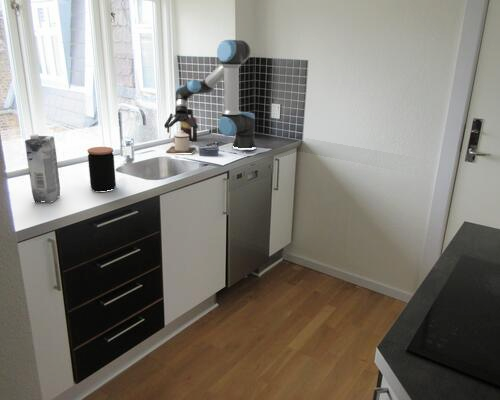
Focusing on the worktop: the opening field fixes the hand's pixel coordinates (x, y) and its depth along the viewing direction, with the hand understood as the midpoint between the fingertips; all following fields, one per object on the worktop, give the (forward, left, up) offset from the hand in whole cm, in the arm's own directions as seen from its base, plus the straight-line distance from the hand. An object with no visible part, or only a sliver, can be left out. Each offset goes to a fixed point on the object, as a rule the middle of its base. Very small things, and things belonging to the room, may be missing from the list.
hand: (180, 137), depth 267 cm
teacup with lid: (-1, +5, -7) cm, 8 cm away
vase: (+1, -27, -8) cm, 28 cm away
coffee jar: (+18, +80, -8) cm, 82 cm away
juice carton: (+35, +97, -8) cm, 103 cm away
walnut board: (-1, +5, -8) cm, 9 cm away
